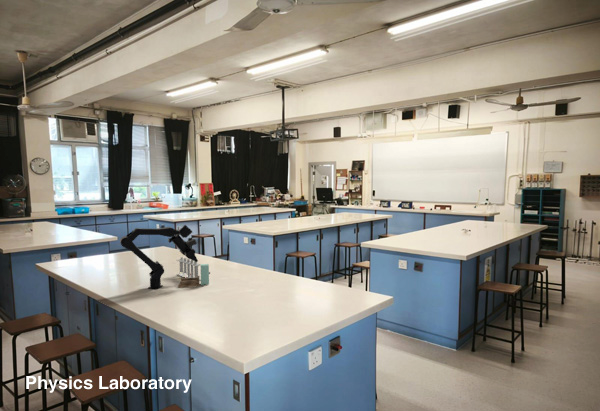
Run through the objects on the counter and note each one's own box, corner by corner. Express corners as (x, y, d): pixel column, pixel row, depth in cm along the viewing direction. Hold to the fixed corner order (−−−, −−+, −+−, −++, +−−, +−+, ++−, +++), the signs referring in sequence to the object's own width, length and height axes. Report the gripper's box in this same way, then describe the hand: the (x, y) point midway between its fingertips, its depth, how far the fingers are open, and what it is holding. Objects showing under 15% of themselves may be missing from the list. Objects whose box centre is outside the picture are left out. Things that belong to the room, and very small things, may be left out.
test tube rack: (201, 280, 230) (201, 261, 229) (195, 282, 226) (195, 262, 226) (182, 274, 246) (181, 255, 245) (176, 275, 243) (176, 256, 242)
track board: (179, 287, 214) (178, 280, 214) (180, 283, 224) (180, 276, 223) (199, 286, 217) (199, 279, 217) (199, 281, 227) (199, 275, 226)
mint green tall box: (200, 285, 220) (200, 265, 219) (200, 283, 223) (200, 264, 222) (210, 284, 221) (210, 265, 220) (210, 282, 224) (209, 263, 224)
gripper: (193, 236, 215) (209, 254, 221) (186, 232, 231) (201, 249, 237) (179, 248, 211) (195, 266, 217) (172, 244, 227) (188, 260, 233)
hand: (195, 260), depth 226 cm, fingers open, 9 cm apart
